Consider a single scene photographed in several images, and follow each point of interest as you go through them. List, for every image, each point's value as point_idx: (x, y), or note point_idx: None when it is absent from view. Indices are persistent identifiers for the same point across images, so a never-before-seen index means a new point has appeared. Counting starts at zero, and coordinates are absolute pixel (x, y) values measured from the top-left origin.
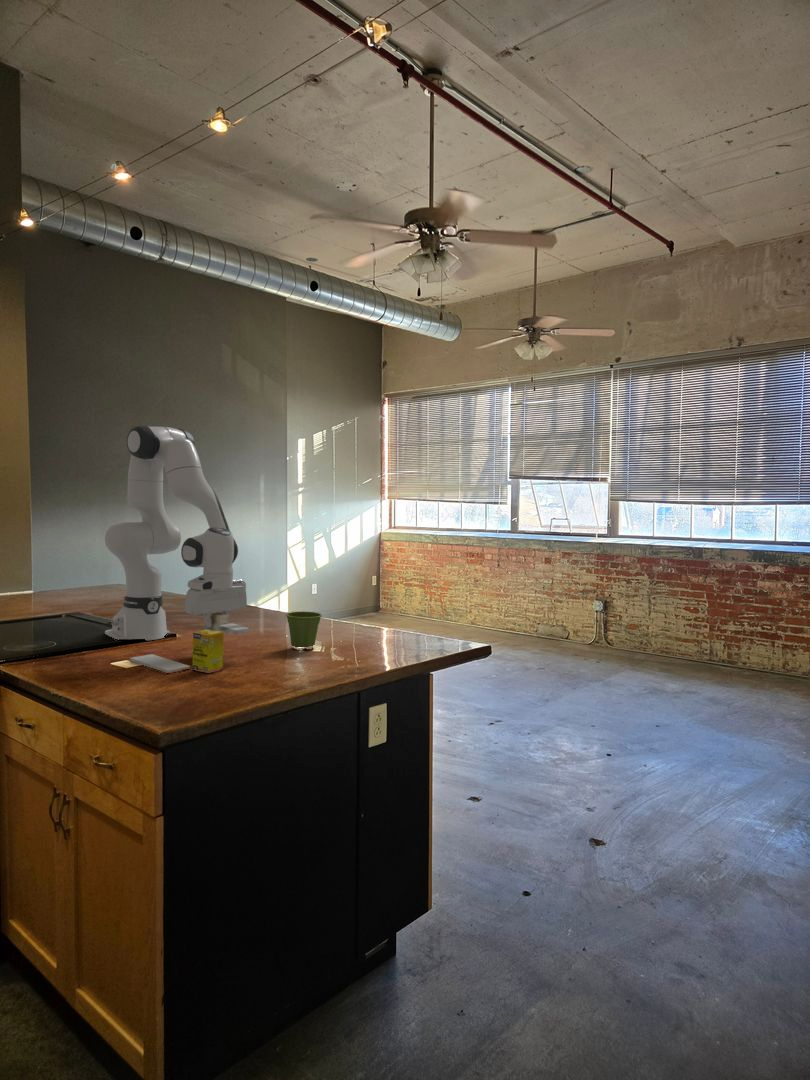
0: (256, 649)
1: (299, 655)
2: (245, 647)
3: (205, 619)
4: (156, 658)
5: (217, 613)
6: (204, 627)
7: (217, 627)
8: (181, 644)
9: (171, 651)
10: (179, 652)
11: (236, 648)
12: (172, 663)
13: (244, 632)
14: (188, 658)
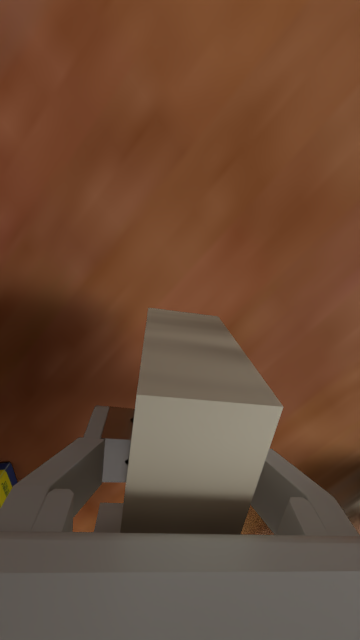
0: (320, 392)
1: None
2: (329, 338)
3: (65, 449)
4: None
5: (197, 533)
6: (147, 317)
7: (97, 516)
8: (218, 2)
9: (61, 119)
10: (78, 179)
11: (296, 325)
12: None
13: None
14: (36, 313)
